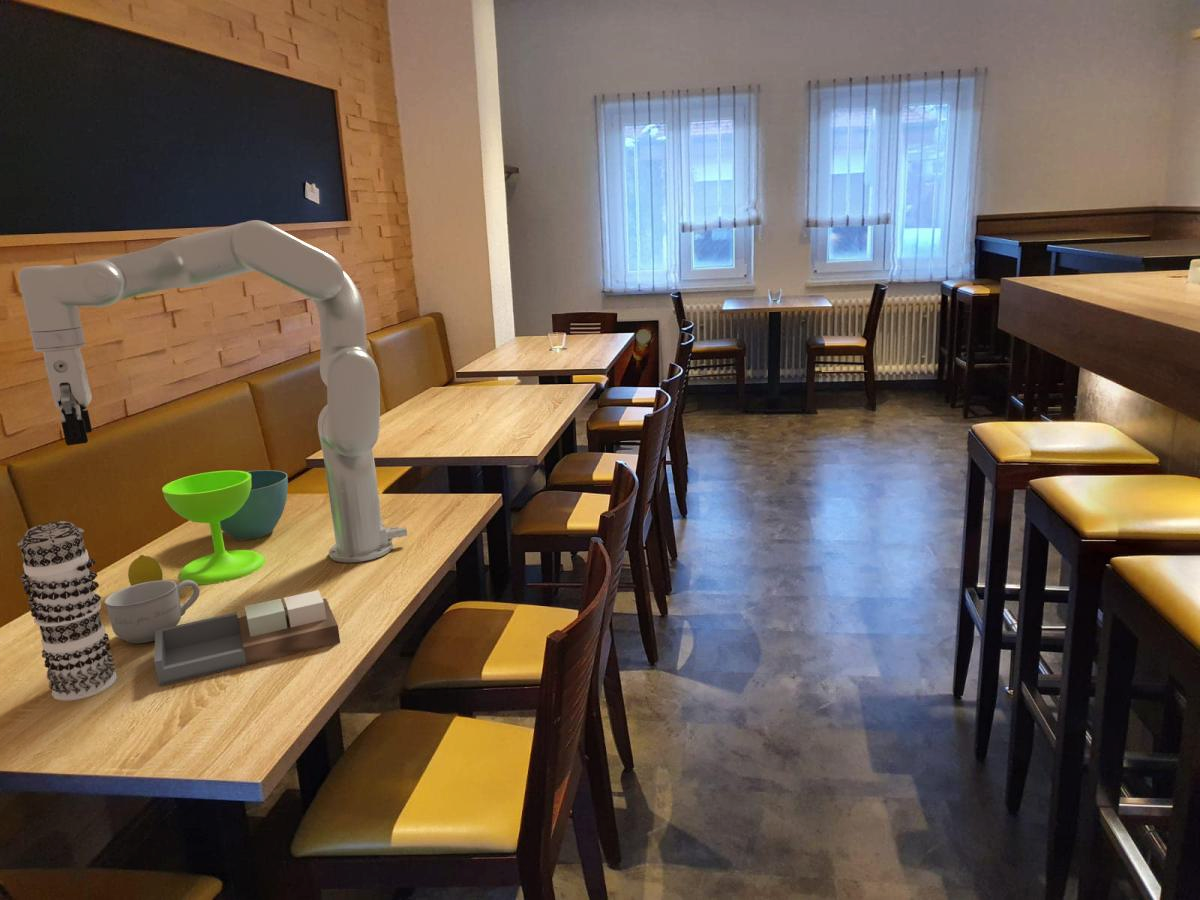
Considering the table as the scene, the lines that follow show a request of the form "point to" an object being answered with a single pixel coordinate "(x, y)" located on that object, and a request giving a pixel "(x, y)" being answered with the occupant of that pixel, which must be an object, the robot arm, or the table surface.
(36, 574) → the decorative candle
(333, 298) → the robot arm
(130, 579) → the lemon
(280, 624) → the sage tile
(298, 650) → the walnut wavy ramp
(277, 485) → the plant pot
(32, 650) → the table surface
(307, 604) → the white tile
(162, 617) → the teacup
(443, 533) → the table surface
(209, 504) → the wineglass
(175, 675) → the box
